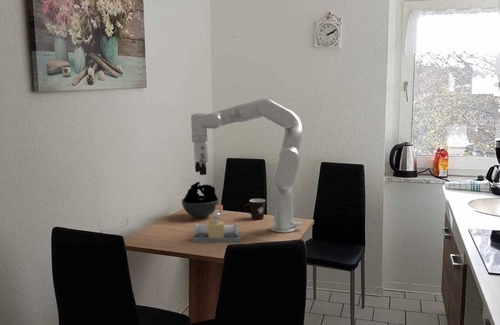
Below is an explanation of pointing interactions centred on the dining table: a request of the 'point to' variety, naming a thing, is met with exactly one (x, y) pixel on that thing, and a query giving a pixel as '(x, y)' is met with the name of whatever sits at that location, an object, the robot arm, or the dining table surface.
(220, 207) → the valve lever
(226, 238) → the valve base
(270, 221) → the dining table surface
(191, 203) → the bowl of black rocks
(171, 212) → the dining table surface
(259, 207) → the coffee mug
